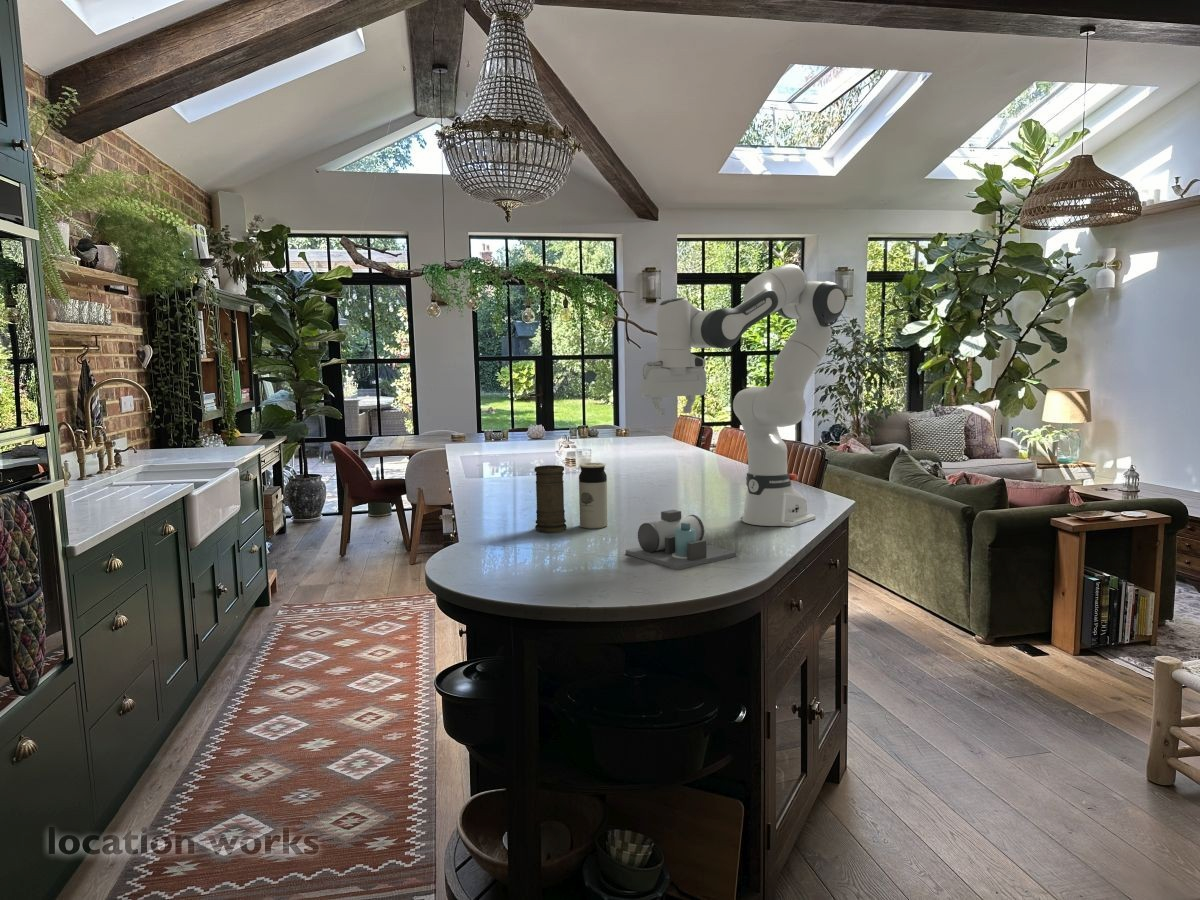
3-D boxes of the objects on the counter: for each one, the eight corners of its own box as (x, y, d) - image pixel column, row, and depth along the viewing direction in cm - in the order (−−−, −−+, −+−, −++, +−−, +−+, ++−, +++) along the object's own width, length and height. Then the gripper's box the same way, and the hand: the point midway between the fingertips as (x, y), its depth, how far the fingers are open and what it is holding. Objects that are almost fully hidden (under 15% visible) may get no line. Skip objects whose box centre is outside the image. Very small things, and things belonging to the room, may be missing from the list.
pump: (700, 554, 187) (700, 523, 186) (685, 558, 184) (684, 526, 183) (686, 550, 191) (686, 520, 190) (670, 554, 188) (670, 523, 187)
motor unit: (683, 542, 205) (683, 504, 204) (736, 556, 190) (736, 515, 189) (625, 553, 194) (625, 513, 193) (677, 569, 179) (677, 526, 177)
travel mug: (594, 522, 232) (592, 461, 230) (613, 525, 227) (612, 463, 225) (574, 526, 227) (572, 464, 225) (593, 530, 221) (592, 466, 219)
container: (562, 533, 218) (561, 469, 215) (531, 532, 219) (529, 468, 217) (570, 526, 226) (568, 464, 224) (540, 526, 228) (538, 464, 226)
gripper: (650, 361, 196) (651, 416, 198) (710, 360, 208) (710, 412, 210) (635, 361, 202) (635, 415, 203) (693, 360, 213) (694, 411, 215)
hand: (674, 414), depth 207 cm, fingers open, 8 cm apart
